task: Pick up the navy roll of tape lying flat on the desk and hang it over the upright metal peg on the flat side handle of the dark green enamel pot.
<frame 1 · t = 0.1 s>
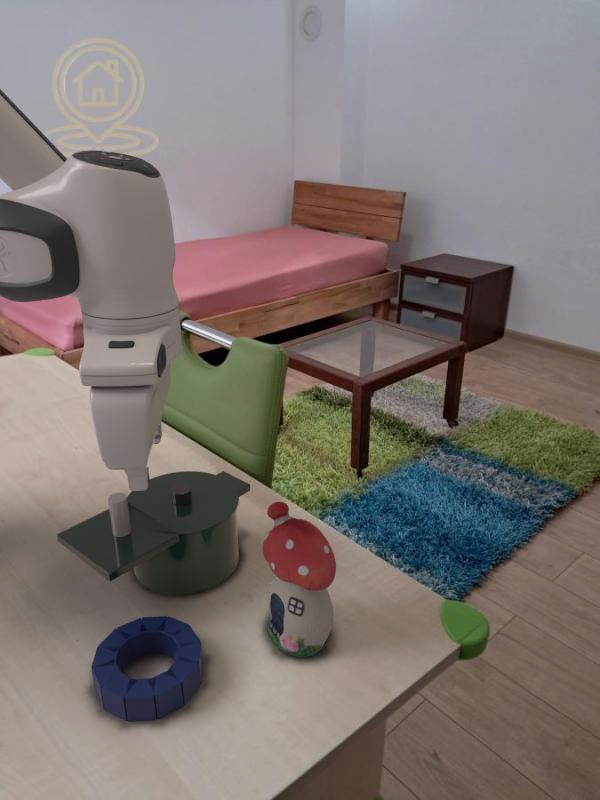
hand: (147, 462, 66), 18 cm above the table, tool pointing down, fingers open, 8 cm apart
decorative ornament: (296, 633, 69), on the table
pot: (186, 560, 79), on the table
tape roll: (150, 676, 63), on the table
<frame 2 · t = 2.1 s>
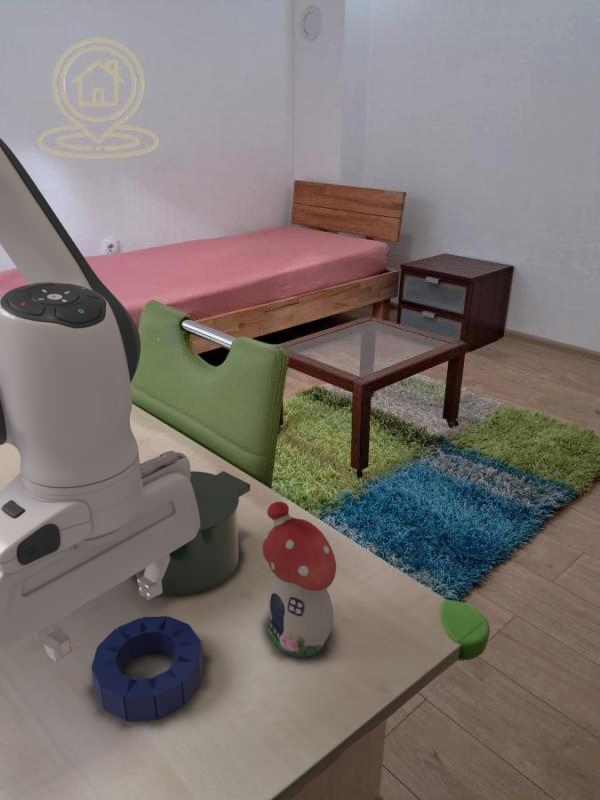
hand: (107, 622, 56), 10 cm above the table, tool pointing down, fingers open, 8 cm apart
nothing on the table moved.
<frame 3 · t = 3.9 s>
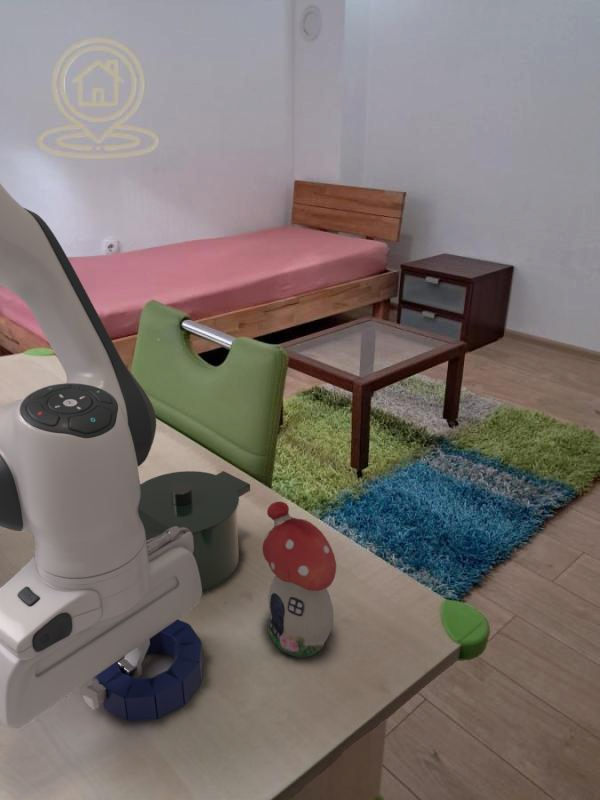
hand: (113, 688, 59), 2 cm above the table, tool pointing down, fingers closed on tape roll, 2 cm apart
tape roll: (150, 676, 63), on the table, touching gripper
everything else where it was.
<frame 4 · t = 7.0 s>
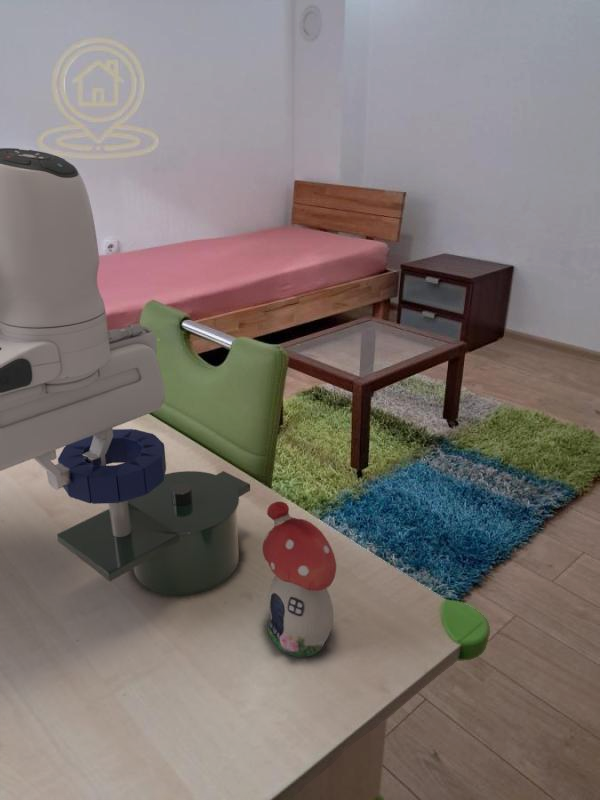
hand: (78, 477, 62), 18 cm above the table, tool pointing down, fingers closed on tape roll, 2 cm apart
tape roll: (115, 476, 66), point 17 cm above the table, touching gripper
everything else where it was.
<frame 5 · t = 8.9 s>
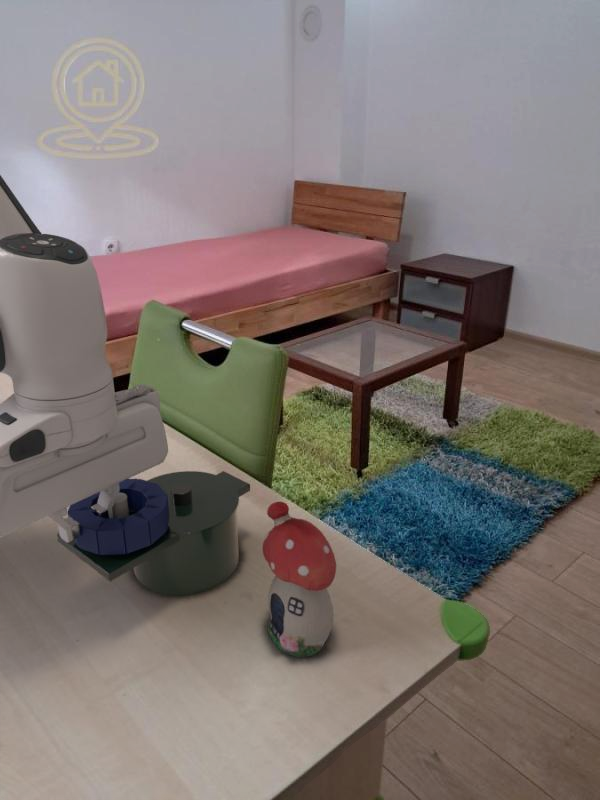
hand: (87, 529, 66), 11 cm above the table, tool pointing down, fingers closed on tape roll, 2 cm apart
tape roll: (121, 526, 70), point 10 cm above the table, touching gripper
everything else where it was.
when the fingers open (11 cm above the table, at t = 10.1 s): tape roll stays where it is, resting on pot.
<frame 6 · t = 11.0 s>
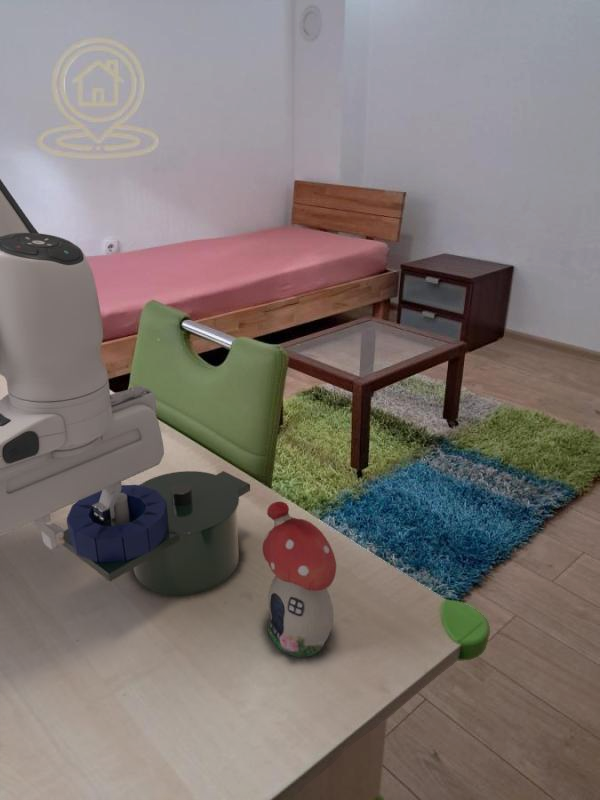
hand: (81, 531, 66), 11 cm above the table, tool pointing down, fingers open, 4 cm apart
tape roll: (120, 532, 70), point 9 cm above the table, touching pot
everything else where it was.
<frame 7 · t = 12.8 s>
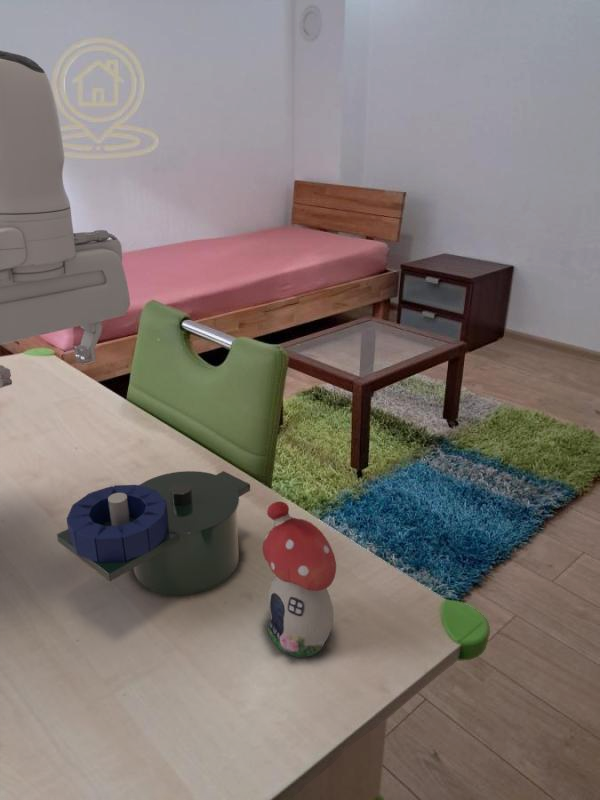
hand: (45, 373, 66), 26 cm above the table, tool pointing down, fingers open, 8 cm apart
nothing on the table moved.
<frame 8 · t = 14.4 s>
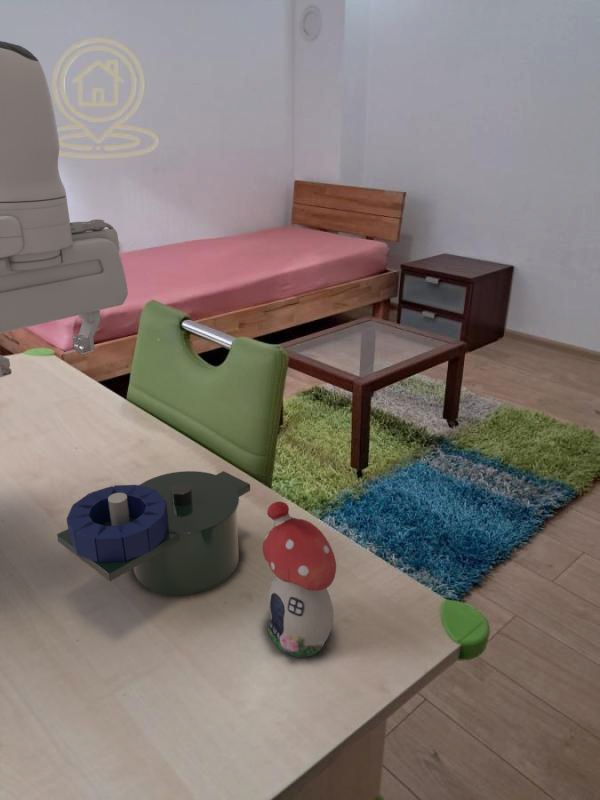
hand: (45, 363, 66), 27 cm above the table, tool pointing down, fingers open, 8 cm apart
nothing on the table moved.
at the end: tape roll 0.1 cm from the target spot, point 8.9 cm above the table; tape roll tilted 0°; the gripper is holding nothing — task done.
